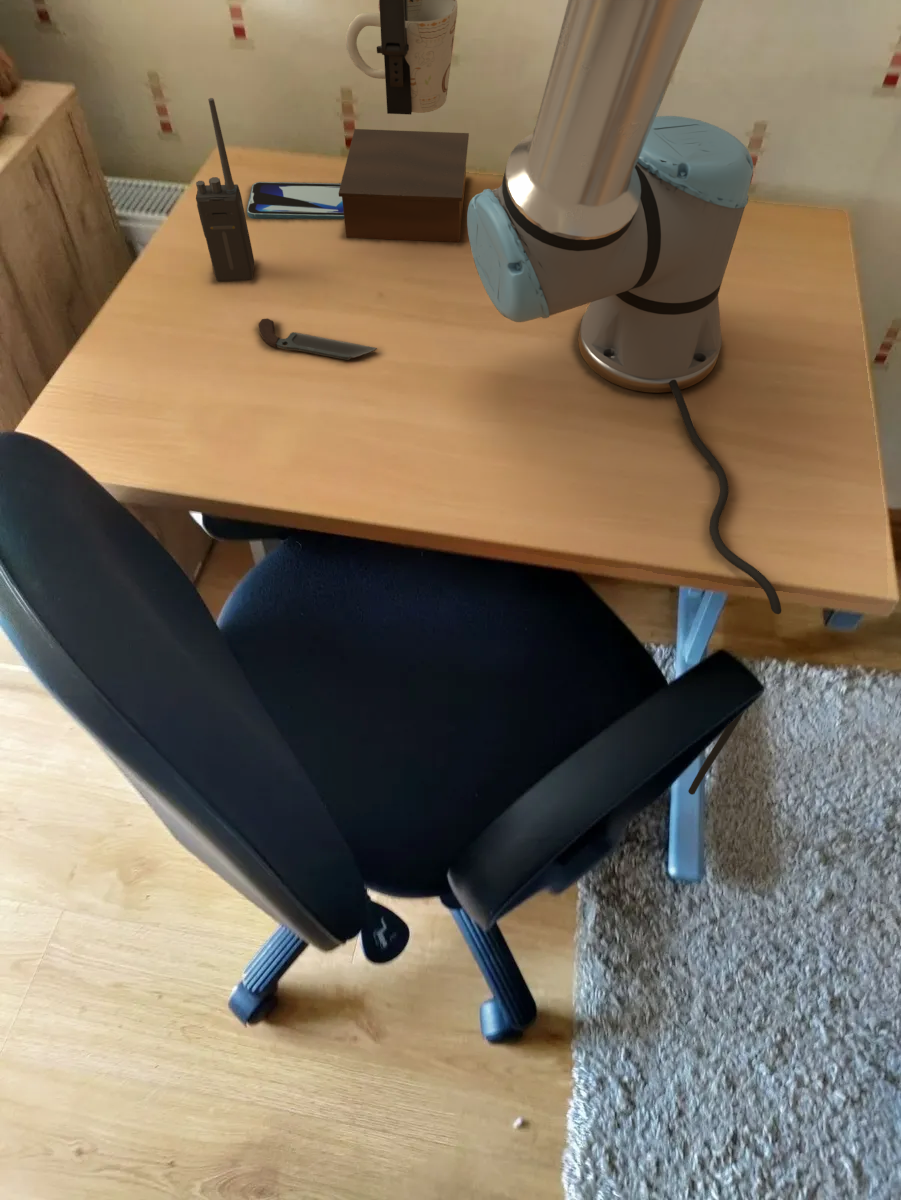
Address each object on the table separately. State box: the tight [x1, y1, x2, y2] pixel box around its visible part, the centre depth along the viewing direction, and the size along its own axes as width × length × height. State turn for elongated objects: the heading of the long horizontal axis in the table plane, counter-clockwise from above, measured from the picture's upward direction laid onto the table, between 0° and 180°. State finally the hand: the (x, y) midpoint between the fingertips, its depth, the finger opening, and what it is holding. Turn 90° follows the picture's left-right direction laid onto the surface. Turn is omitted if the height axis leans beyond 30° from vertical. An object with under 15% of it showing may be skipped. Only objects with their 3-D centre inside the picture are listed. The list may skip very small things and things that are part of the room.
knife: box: [258, 318, 378, 361], centre depth 97 cm, size 14×4×1 cm, turn 74°
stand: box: [339, 128, 470, 243], centre depth 110 cm, size 15×15×6 cm
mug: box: [345, 0, 458, 114], centre depth 97 cm, size 8×13×10 cm, turn 79°
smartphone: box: [246, 181, 344, 220], centre depth 113 cm, size 7×1×15 cm
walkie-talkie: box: [195, 97, 255, 282], centre depth 97 cm, size 5×3×20 cm
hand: (402, 96), depth 101 cm, fingers closed on mug, 6 cm apart
